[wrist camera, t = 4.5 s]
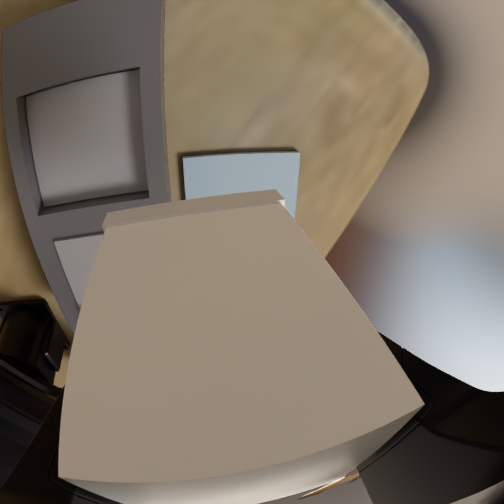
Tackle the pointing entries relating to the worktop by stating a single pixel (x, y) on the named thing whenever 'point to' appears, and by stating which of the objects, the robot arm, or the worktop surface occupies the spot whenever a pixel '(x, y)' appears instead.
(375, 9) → the worktop surface
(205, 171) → the mat
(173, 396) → the block
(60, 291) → the gray recessed block
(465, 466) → the robot arm
